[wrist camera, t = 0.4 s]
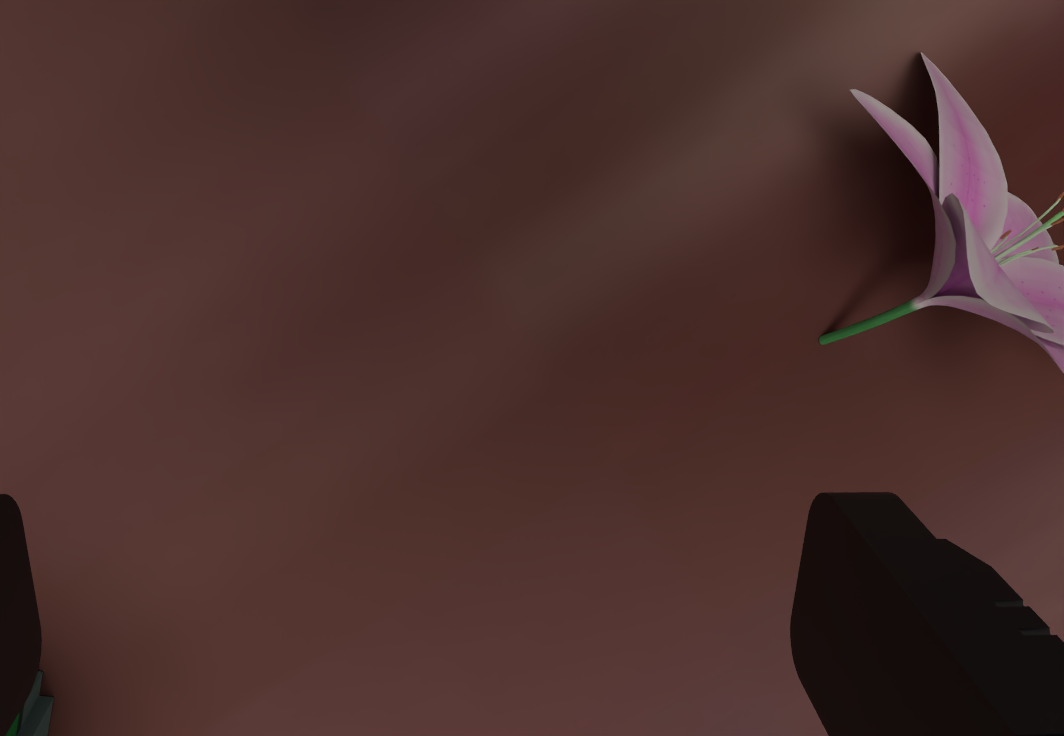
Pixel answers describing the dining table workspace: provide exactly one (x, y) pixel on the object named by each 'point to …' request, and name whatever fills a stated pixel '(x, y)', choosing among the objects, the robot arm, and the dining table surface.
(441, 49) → the dining table surface
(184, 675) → the dining table surface
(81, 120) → the dining table surface
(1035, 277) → the lily
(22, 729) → the can
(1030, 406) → the dining table surface
